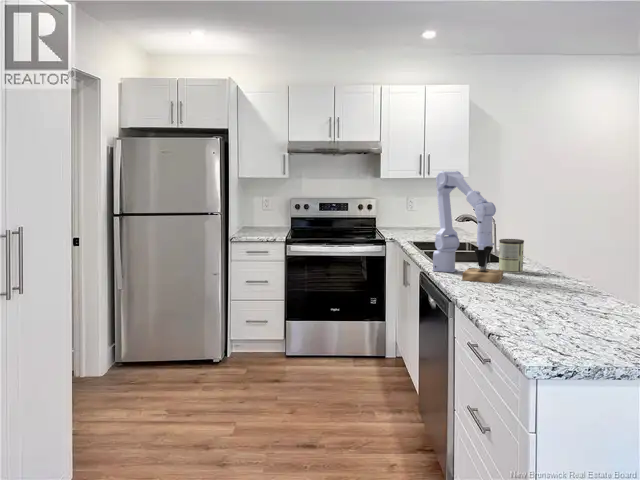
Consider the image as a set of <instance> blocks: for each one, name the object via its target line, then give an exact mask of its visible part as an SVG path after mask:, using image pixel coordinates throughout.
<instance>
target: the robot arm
mask: <svg viewBox="0 0 640 480" xmlns="http://www.w3.org/2000/svg"><path fill="white" fill-rule="evenodd" d="M464 178H465V177H464V175H463V173H461V172H460V171H458V170H456V171H444V170H440V171H439V172H438V174H437V175H436V177H435V182H436V197H437V198H436V199H437V205H438V206H437V207H438V221H439V230H438V231H437V232H436V233H435V240H434V246H435V249H436V250H434V251H433V254H432V269H431V270H432V271H433V272H443V273H455V272H456V271H458V268H456V252H457V250H458V248H459V247H460V239H459V235H458V232H457V231H456V230H455V229H454V228H453V218H452V217H453V215H452V208H451V198H450V197H451V195H450V194H451V192H452V191H454V190H455V189H456V188H457V189H458V190H459V191H460V192H461V193H463V195H465V196H466V197H465V198H466V202H468V204H469V205H470V206H471V207H472V208H473V210H474V214H475V216H476V221H477V228H476V243H475V244H476V245H477V246H478V248H474V253H475V255H476V257H477V264H478V267H484V266H485V262H486V257H487V265H488V264H489V259H490V255H491V253H492V250H493V248H494V247H493V246H495V243H494V242H492V240H493V239H492V237H493V236H492V235H493V234H492V231H493V217H494V215H495V214H496V212H497V208H496V205H495V204H494V203H493V202H492V201H488V200H487V199H486V198H485V197H483V196H482V194H481V192H480V191H479V190H473V189H472V187H471V186H470V185H469V183H467V181H466V180H465V179H464ZM476 245H475V246H476Z"/></svg>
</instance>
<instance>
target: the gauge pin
mask: <svg viewBox="0 0 640 480" xmlns="http://www.w3.org/2000/svg"><path fill="white" fill-rule="evenodd" d="M487 265H488V264H487V257H486V262H485V266H484V267H480V268H479V269H480V272H485V273H486V269H487Z"/></svg>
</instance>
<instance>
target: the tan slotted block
mask: <svg viewBox="0 0 640 480" xmlns="http://www.w3.org/2000/svg"><path fill="white" fill-rule="evenodd" d="M503 278H504V273H503V270H499V269H491V268H486V273H485V272H480V268H477V267H475V268H474V267H468V268H467V269H466V270H464V271H463V272H462V278H461V280H462V281H466V282H467V281H469V282H481V283H494V284H499V282H501V280H502V279H503Z"/></svg>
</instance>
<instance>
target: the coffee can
mask: <svg viewBox="0 0 640 480" xmlns="http://www.w3.org/2000/svg"><path fill="white" fill-rule="evenodd" d="M524 243H525V240H524V239H518V238H500V239H499V244H498V245H499V249H498V250H499V252H498V256H499V257H498V270H503V274H511V275H513V274H514V275H515V274H522V273H524V245H525V244H524Z"/></svg>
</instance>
